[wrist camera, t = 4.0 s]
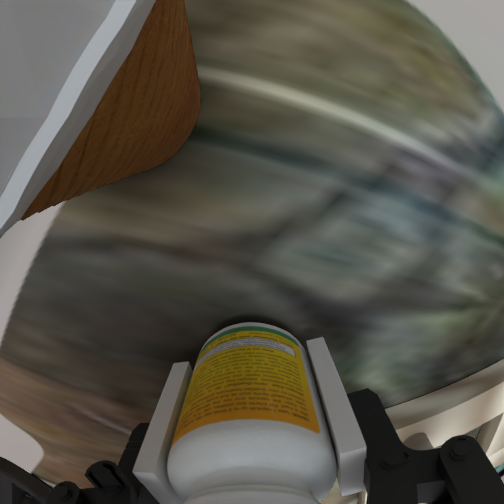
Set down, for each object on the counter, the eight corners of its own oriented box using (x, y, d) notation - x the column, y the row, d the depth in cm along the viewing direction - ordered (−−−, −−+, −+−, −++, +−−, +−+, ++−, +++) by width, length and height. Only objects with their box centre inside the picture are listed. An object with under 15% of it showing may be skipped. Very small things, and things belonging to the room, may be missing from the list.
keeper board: (357, 508, 19) (378, 597, 9) (361, 416, 16) (412, 562, 6) (499, 447, 18) (541, 511, 8) (539, 337, 15) (619, 403, 5)
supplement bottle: (326, 377, 14) (379, 545, 5) (237, 419, 15) (228, 578, 6) (271, 295, 13) (300, 493, 4) (174, 350, 14) (106, 524, 5)
